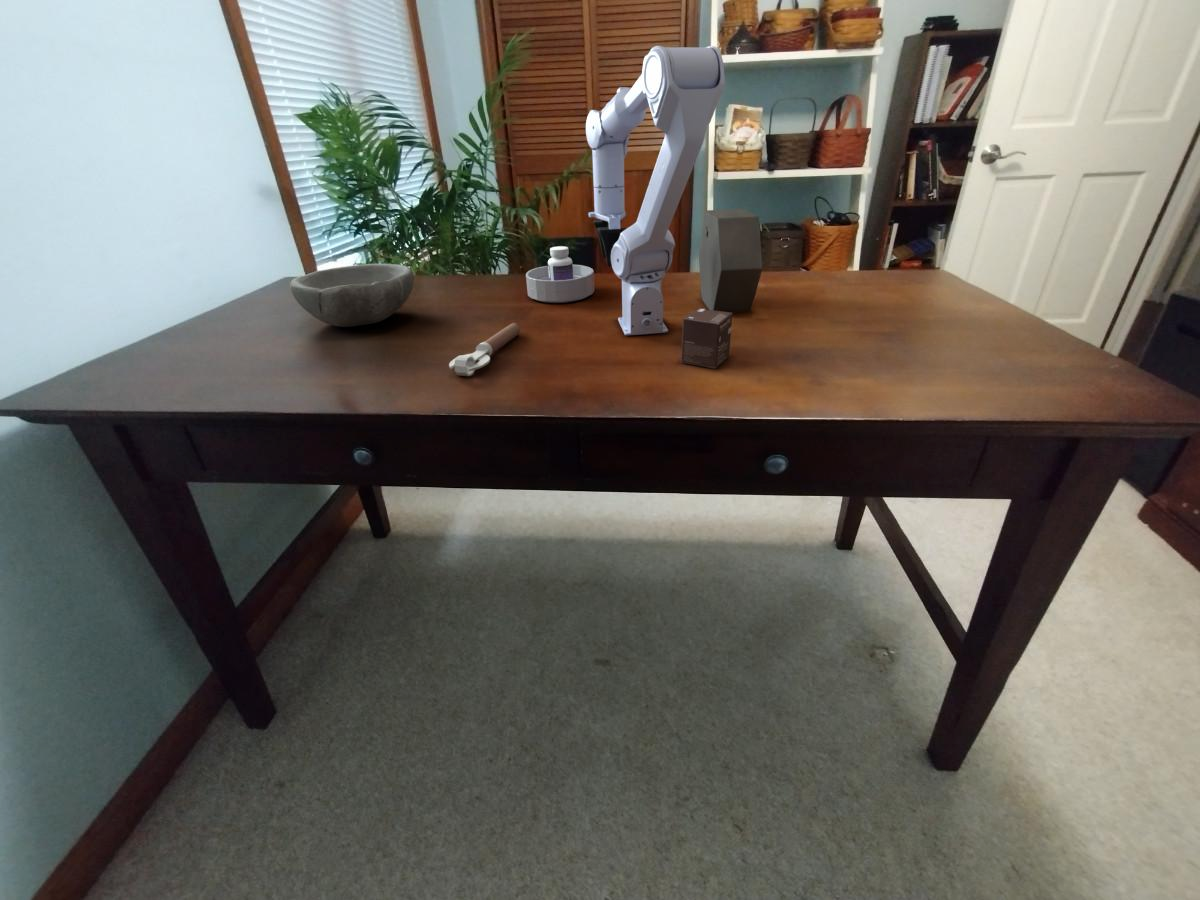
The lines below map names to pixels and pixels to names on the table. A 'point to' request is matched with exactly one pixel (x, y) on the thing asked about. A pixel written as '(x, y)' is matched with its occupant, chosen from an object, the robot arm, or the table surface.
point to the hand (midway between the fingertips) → (610, 261)
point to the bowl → (354, 293)
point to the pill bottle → (560, 264)
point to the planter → (730, 260)
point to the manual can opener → (483, 351)
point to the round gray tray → (560, 285)
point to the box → (706, 338)
